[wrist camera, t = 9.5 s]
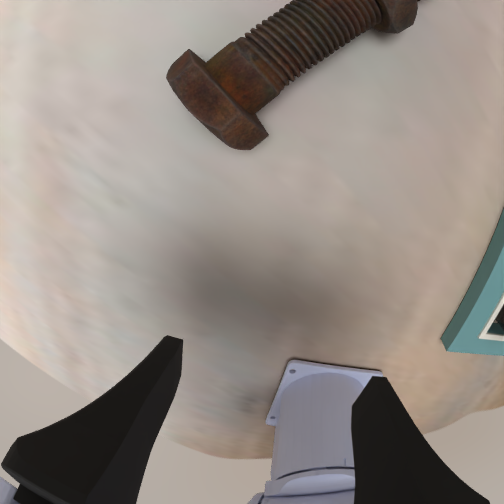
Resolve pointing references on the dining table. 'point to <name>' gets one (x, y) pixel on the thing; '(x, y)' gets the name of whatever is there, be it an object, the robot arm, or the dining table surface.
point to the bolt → (274, 61)
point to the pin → (501, 317)
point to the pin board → (481, 306)
